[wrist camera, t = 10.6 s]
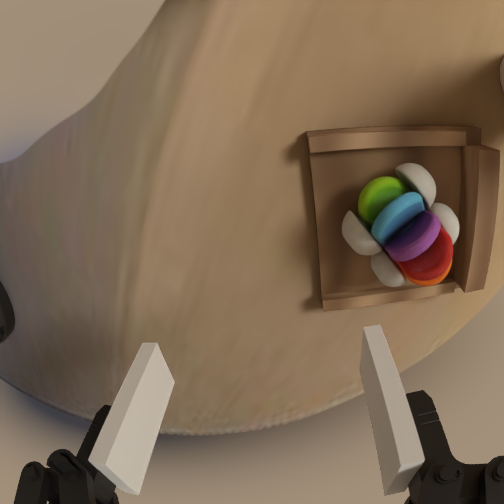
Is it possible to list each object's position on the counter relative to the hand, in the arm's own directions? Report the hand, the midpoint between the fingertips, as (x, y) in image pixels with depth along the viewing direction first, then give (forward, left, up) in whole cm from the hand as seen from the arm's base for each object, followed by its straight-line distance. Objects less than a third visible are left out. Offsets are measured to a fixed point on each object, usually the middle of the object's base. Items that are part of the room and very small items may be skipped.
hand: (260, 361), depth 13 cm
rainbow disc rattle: (+11, 0, -15) cm, 18 cm away
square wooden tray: (+12, 0, -15) cm, 20 cm away
